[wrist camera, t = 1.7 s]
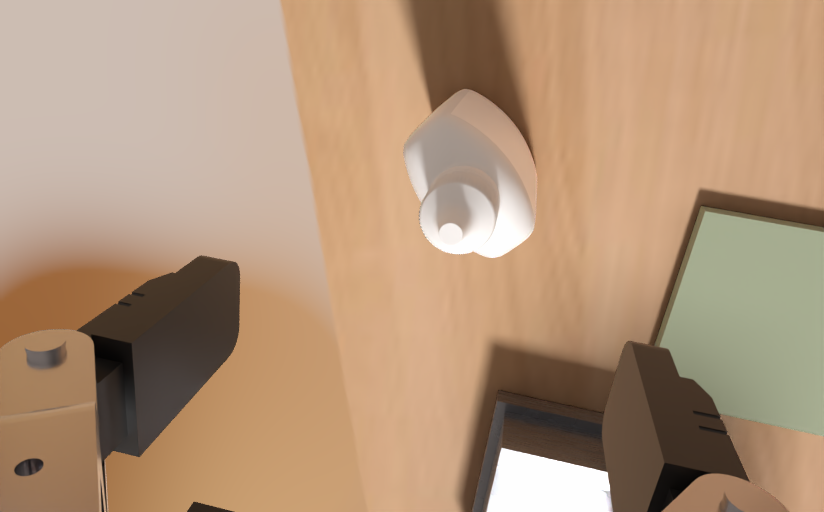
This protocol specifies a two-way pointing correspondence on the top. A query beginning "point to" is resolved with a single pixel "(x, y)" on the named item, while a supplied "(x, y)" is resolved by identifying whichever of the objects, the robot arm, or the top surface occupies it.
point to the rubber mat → (752, 318)
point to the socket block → (542, 459)
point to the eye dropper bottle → (472, 177)
